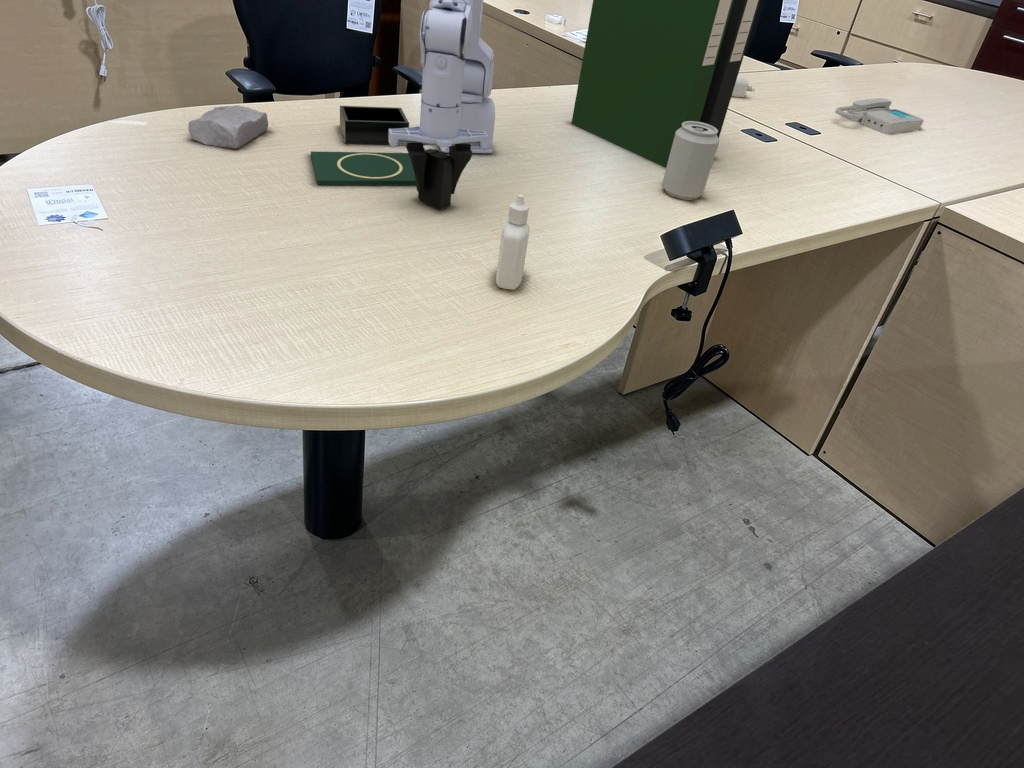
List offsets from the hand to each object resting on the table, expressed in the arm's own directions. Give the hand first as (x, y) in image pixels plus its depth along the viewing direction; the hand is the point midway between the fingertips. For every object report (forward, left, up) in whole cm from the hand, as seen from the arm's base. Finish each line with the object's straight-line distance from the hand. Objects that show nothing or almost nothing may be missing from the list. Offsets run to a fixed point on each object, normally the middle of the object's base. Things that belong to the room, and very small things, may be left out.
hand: (435, 191), depth 113 cm
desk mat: (+8, -13, -2) cm, 15 cm away
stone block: (+30, -28, -2) cm, 41 cm away
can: (-46, -4, -2) cm, 46 cm away
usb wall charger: (-95, -65, -2) cm, 115 cm away
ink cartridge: (0, 0, -2) cm, 2 cm away
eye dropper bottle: (-5, +24, -2) cm, 25 cm away
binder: (-50, -30, -2) cm, 58 cm away
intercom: (-123, -46, -2) cm, 131 cm away
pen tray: (+5, -29, -2) cm, 29 cm away
